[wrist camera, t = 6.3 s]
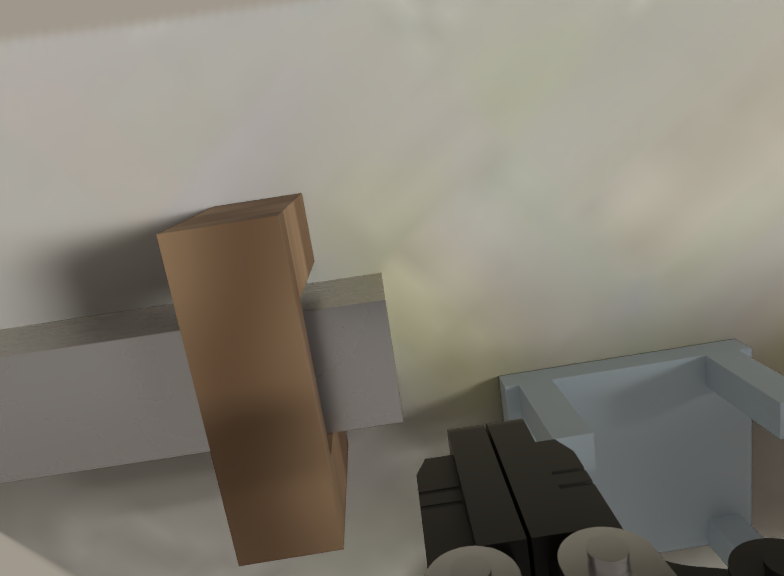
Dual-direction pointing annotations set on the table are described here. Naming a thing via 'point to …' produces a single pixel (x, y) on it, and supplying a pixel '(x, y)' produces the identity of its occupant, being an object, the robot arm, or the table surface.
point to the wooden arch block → (258, 375)
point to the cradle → (661, 436)
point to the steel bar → (171, 382)
